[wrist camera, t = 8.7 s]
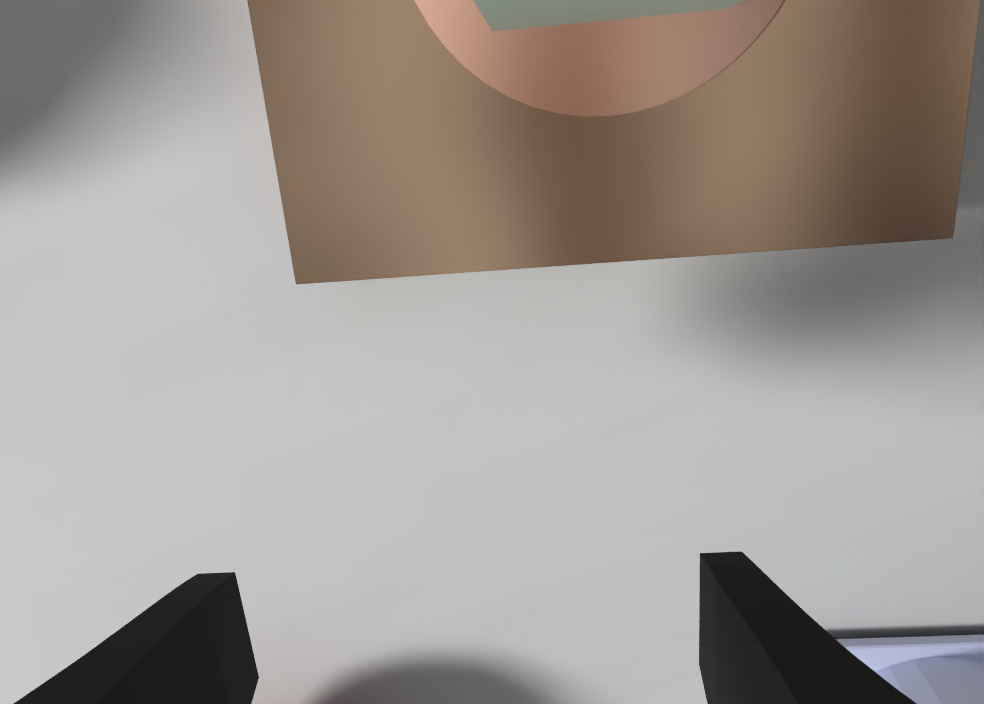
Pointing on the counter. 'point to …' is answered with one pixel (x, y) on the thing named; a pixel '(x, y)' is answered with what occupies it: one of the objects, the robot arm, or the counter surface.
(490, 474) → the counter surface
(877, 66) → the walnut base
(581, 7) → the sage block
